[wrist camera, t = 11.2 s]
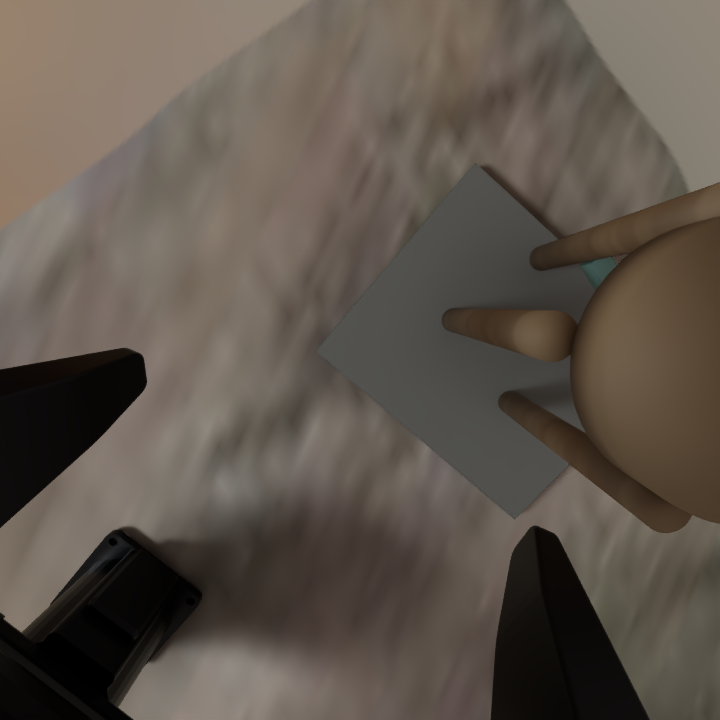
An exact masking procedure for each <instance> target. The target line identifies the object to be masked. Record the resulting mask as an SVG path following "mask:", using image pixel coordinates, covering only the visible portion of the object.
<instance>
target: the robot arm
mask: <svg viewBox="0 0 720 720" xmlns="http://www.w3.org/2000/svg"><path fill="white" fill-rule="evenodd" d="M146 385H147V377H146V370H145V363H144V358H143V356H142V355H141V354H140V353H138V352H136V351H133V350H131V349H128V348H119V349H114V350H108V351H102V352H97V353H91V354H85V355H80V356H74V357H68V358H63V359H57V360H51V361H46V362H40V363H34V364H29V365H23V366H17V367H12V368H6V369H0V528H1V527H2V526H3V525H4V524H5V523H6V522H7V521H9V520H10V519H11V518H12V517H13V516H14V515H15V514H16V513H17V512H19V511H20V510H21V509H22V508H23V507H24V506H25V505H26V504H27V503H29V502H30V501H31V500H32V499H33V498H34V497H35V496H36V495H37V494H39V493H40V492H41V491H42V490H43V489H44V488H45V487H46V486H47V485H49V484H50V483H51V482H52V481H53V480H54V479H55V478H56V477H58V476H59V475H60V474H61V473H62V472H63V471H64V470H65V469H66V468H68V467H69V466H70V465H71V464H72V463H73V462H74V461H75V460H76V459H78V458H79V457H80V456H81V455H82V454H83V453H84V452H85V451H86V450H88V449H89V448H90V447H91V446H92V445H93V444H94V443H95V442H96V441H97V440H98V439H99V438H100V437H101V436H102V435H103V434H104V433H105V432H106V431H107V430H108V429H109V428H110V427H111V426H112V424H113V423H114V422H115V421H116V420H117V419H118V418H119V417H120V416H121V415H122V414H123V413H124V412H125V410H126V409H127V408H128V407H129V406H130V405H131V404H132V403H133V402H134V401H135V400H136V399H137V397H138V396H139V395H140V394H141V393H142V392H143V391H144V389H145V387H146ZM113 538H115V539H116V540H117V542H116V541H115V540H114V539H113ZM189 597H192V598H193V599H194V600H191V599H190V598H189ZM201 599H202V594H201V592H200V591H199V590H198V589H196V588H195V587H194V586H192V585H191V584H190V583H189V582H187V581H186V580H185V579H183V578H182V577H181V576H179V575H178V574H177V573H176V572H174V571H173V570H172V569H170V568H169V567H168V566H167V565H165V564H164V563H163V562H161V561H160V560H159V559H157V558H156V557H155V556H154V555H152V554H151V553H150V552H148V551H147V550H146V549H144V548H143V547H142V546H141V545H139V544H138V543H137V542H135V541H134V540H133V539H132V538H130V537H129V536H128V535H126V534H125V533H124V532H122V531H120V530H113V531H112V532H111V533H109V534H108V535H107V536H106V537H105V538H104V539H103V541H102V542H101V543H100V544H99V546H98V547H97V548H96V549H95V550H94V552H93V553H92V554H91V555H90V556H89V558H88V559H87V560H86V561H85V562H84V564H83V565H82V566H81V567H80V569H79V570H78V571H77V572H76V573H75V575H74V576H73V577H72V578H71V579H70V581H69V582H68V583H67V584H66V586H65V587H64V588H63V589H62V590H61V592H60V593H59V594H58V595H57V596H56V598H55V599H54V600H53V601H52V603H51V604H50V606H49V607H48V608H47V609H46V610H45V611H44V612H43V613H42V614H41V615H40V616H39V617H38V618H37V619H35V620H34V621H33V622H32V623H31V624H30V625H29V626H28V627H27V628H26V629H25V630H24V631H23V632H22V633H21V632H20V631H19V630H17V629H16V628H15V627H13V626H12V625H11V624H10V623H8V622H7V621H6V620H4V618H5V616H4V615H3V614H2V613H0V720H133V719H132V718H131V717H130V716H128V715H127V714H126V713H124V712H123V711H122V710H121V709H119V708H118V707H119V705H120V704H121V702H122V701H123V699H124V697H125V696H126V694H127V693H128V691H129V689H130V688H131V686H132V685H133V683H134V681H135V680H136V678H137V677H138V675H139V673H140V672H141V670H142V669H143V667H144V666H145V665H146V664H147V663H148V661H149V660H150V659H151V658H152V657H153V656H154V655H155V654H156V652H157V651H158V650H159V649H160V648H161V647H162V646H163V645H164V643H165V642H166V641H167V640H168V639H169V638H170V637H171V636H172V634H173V633H174V632H175V631H176V630H177V629H178V628H179V627H180V626H181V624H182V623H183V622H184V621H185V620H186V619H187V618H188V617H189V615H190V614H191V613H192V612H193V611H194V610H195V609H196V608H197V606H198V605H199V603H200V601H201ZM491 720H650V719H649V717H648V715H647V713H646V711H645V709H644V707H643V705H642V703H641V701H640V699H639V697H638V695H637V693H636V691H635V689H634V687H633V685H632V683H631V681H630V679H629V677H628V675H627V673H626V671H625V669H624V667H623V665H622V663H621V661H620V659H619V657H618V655H617V653H616V651H615V649H614V647H613V645H612V643H611V641H610V639H609V637H608V635H607V634H606V632H605V630H604V628H603V626H602V624H601V622H600V620H599V618H598V616H597V614H596V612H595V610H594V608H593V606H592V604H591V602H590V600H589V598H588V596H587V594H586V592H585V590H584V588H583V586H582V584H581V582H580V580H579V578H578V576H577V574H576V572H575V570H574V568H573V566H572V564H571V562H570V560H569V558H568V556H567V554H566V552H565V550H564V548H563V546H562V544H561V542H560V540H559V538H558V537H557V536H556V535H555V534H554V533H552V532H550V531H548V530H545V529H543V528H541V527H539V526H532V527H531V528H530V529H529V530H528V531H527V532H526V534H525V535H524V536H523V538H522V539H521V540H520V542H519V543H518V544H517V546H516V547H515V549H514V551H513V553H512V556H511V560H510V565H509V571H508V576H507V582H506V587H505V593H504V599H503V604H502V610H501V615H500V621H499V626H498V632H497V639H496V649H495V661H494V676H493V691H492V707H491Z"/></svg>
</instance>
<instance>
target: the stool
mask: <svg viewBox="0 0 720 720" xmlns="http://www.w3.org/2000/svg"><path fill="white" fill-rule="evenodd" d="M631 252H632V253H631ZM626 253H631V254H629V255H628V256H627V257H625V258H624V259H623V260H622V261H621V262H620V263H619V264H618V265H617V264H616V263H615V261H614V260H613V258H612V256H617V255H622V254H626ZM529 260H530V264H531V266H532V267H533V268H534V269H536V270H538V271H544V270H549V269H554V268H558V267H563V266H568V265H573V264H578V263H583V262H584V263H583V264H582V265H580V268H581V269H582V271H583V272H584V274H585V276H586V277H587V279H588V280H589V282H590V283H591V285H592V287H593V288H594V290H595V292H594V294H593V296H592V297H591V299H590V301H589V302H588V304H587V306H586V308H585V310H584V312H583V314H582V317H581V319H580V321H579V324H578V325H577V323H576V321H575V320H574V319H573V318H572V317H571V316H570V315H569V314H567V313H565V312H562V311H557V310H515V309H469V308H451V309H448V310H447V311H446V312H445V313H444V314H443V316H442V325H443V327H444V328H445V329H446V330H447V331H450V332H453V333H456V334H459V335H462V336H466V337H469V338H472V339H475V340H478V341H482V342H485V343H488V344H491V345H494V346H497V347H501V348H504V349H507V350H510V351H513V352H517V353H520V354H523V355H526V356H529V357H532V358H536V359H539V360H542V361H546V362H558V361H561V360H563V359H565V358H567V357H568V356H570V355H571V357H570V383H571V393H572V397H573V401H574V405H575V409H576V412H577V415H578V417H579V420H580V422H581V425H582V427H583V428H584V430H585V432H586V433H585V432H583V431H581V430H580V429H578V428H576V427H574V426H573V425H571V424H569V423H568V422H566V421H564V420H563V419H561V418H559V417H557V416H556V415H554V414H552V413H551V412H549V411H547V410H545V409H544V408H542V407H540V406H539V405H537V404H535V403H534V402H532V401H530V400H528V399H527V398H525V397H523V396H522V395H520V394H518V393H517V392H514V391H506V392H504V393H503V394H502V395H501V396H500V397H499V400H498V405H499V408H500V409H501V410H502V411H503V412H504V413H505V414H507V415H508V416H509V417H511V418H512V419H513V420H514V421H516V422H517V423H518V424H519V425H521V426H522V427H523V428H524V429H526V430H527V431H528V432H529V433H531V434H532V435H533V436H535V437H536V438H537V439H538V440H540V441H541V442H542V443H543V444H545V445H546V446H547V447H548V448H550V449H551V450H552V451H554V452H555V453H556V454H557V455H559V456H560V457H561V458H562V459H564V460H565V461H566V462H567V463H569V464H570V465H571V466H573V467H574V468H575V469H576V470H578V471H579V472H580V473H581V474H583V475H584V476H585V477H586V478H588V479H589V480H590V481H592V482H593V483H594V484H595V485H597V486H598V487H599V488H600V489H602V490H603V491H604V492H605V493H607V494H608V495H609V496H611V497H612V498H613V499H614V500H616V501H617V502H618V503H619V504H621V505H622V506H623V507H624V508H626V509H627V510H628V511H630V512H631V513H632V514H633V515H635V516H636V517H637V518H638V519H640V520H641V521H642V522H643V523H645V524H646V525H647V526H649V527H650V528H651V529H653V530H654V531H657V532H660V533H671V532H675V531H677V530H679V529H681V528H682V527H684V526H685V525H686V524H687V523H688V521H689V520H690V518H691V516H692V515H694V516H696V517H699V518H702V519H704V520H707V521H710V522H715V523H719V524H720V183H716V184H714V185H711V186H708V187H705V188H702V189H700V190H697V191H694V192H691V193H688V194H685V195H683V196H680V197H677V198H674V199H671V200H668V201H666V202H663V203H660V204H657V205H654V206H652V207H649V208H646V209H643V210H640V211H637V212H635V213H632V214H629V215H626V216H623V217H620V218H618V219H615V220H612V221H609V222H606V223H604V224H601V225H598V226H595V227H592V228H589V229H587V230H584V231H581V232H578V233H575V234H573V235H570V236H567V237H564V238H561V239H558V240H556V241H553V242H550V243H547V244H544V245H541V246H539V247H536V248H535V249H534V250H533V251H532V252H531V254H530V258H529Z"/></svg>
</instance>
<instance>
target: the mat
mask: <svg viewBox="0 0 720 720" xmlns="http://www.w3.org/2000/svg"><path fill="white" fill-rule="evenodd" d="M556 240H558V239H557V238H556V237H555V236H554V235H553V234H552V233H551V232H550V231H549V230H548V229H547V228H546V227H544V226H543V225H542V224H541V223H540V222H539V221H538V220H537V219H536V218H535V217H534V216H533V215H531V214H530V213H529V212H528V211H527V210H526V209H525V208H524V207H523V206H522V205H521V204H520V203H518V202H517V201H516V200H515V199H514V198H513V197H512V196H511V195H510V194H509V193H508V192H507V191H505V190H504V189H503V188H502V187H501V186H500V185H499V184H498V183H497V182H496V181H495V180H494V179H492V178H491V177H490V176H489V175H488V174H487V173H486V172H485V171H484V170H483V169H482V168H481V167H479V166H478V165H477V164H476V163H475V164H474V165H473V166H472V167H471V168H470V170H469V171H468V172H467V173H466V174H465V176H464V177H463V178H462V179H461V180H460V181H459V183H458V184H457V185H456V186H455V187H454V189H453V190H452V191H451V192H450V193H449V194H448V196H447V197H446V198H445V199H444V200H443V202H442V203H441V204H440V205H439V206H438V207H437V209H436V210H435V211H434V212H433V213H432V215H431V216H430V217H429V218H428V219H427V220H426V222H425V223H424V224H423V225H422V226H421V228H420V229H419V230H418V231H417V232H416V233H415V235H414V236H413V237H412V238H411V239H410V240H409V242H408V243H407V244H406V245H405V246H404V248H403V249H402V250H401V251H400V252H399V253H398V255H397V256H396V257H395V258H394V259H393V261H392V262H391V263H390V264H389V265H388V266H387V268H386V269H385V270H384V271H383V272H382V274H381V275H380V276H379V277H378V278H377V279H376V281H375V282H374V283H373V284H372V285H371V287H370V288H369V289H368V290H367V291H366V292H365V294H364V295H363V296H362V297H361V298H360V300H359V301H358V302H357V303H356V304H355V305H354V307H353V308H352V309H351V310H350V311H349V312H348V314H347V315H346V316H345V317H344V318H343V320H342V321H341V322H340V323H339V324H338V325H337V327H336V328H335V329H334V330H333V331H332V333H331V334H330V335H329V336H328V337H327V338H326V340H325V341H324V342H323V343H322V344H321V346H320V347H319V348H318V349H317V350H316V352H318V353H319V354H320V355H321V356H322V357H323V358H325V359H326V360H327V361H328V362H329V363H331V364H332V365H333V366H334V367H335V368H336V369H338V370H339V371H340V372H341V373H342V374H344V375H345V376H346V377H347V378H348V379H349V380H351V381H352V382H353V383H354V384H355V385H357V386H358V387H359V388H360V389H361V390H362V391H364V392H365V393H366V394H367V395H368V396H369V397H371V398H372V399H373V400H374V401H375V402H377V403H378V404H379V405H380V406H381V407H382V408H384V409H385V410H386V411H387V412H388V413H390V414H391V415H392V416H393V417H394V418H395V419H397V420H398V421H399V422H400V423H401V424H403V425H404V426H405V427H406V428H407V429H408V430H410V431H411V432H412V433H413V434H414V435H416V436H417V437H418V438H419V439H420V440H421V441H423V442H424V443H425V444H426V445H427V446H429V447H430V448H431V449H432V450H433V451H434V452H436V453H437V454H438V455H439V456H440V457H442V458H443V459H444V460H445V461H446V462H447V463H449V464H450V465H451V466H452V467H453V468H455V469H456V470H457V471H458V472H459V473H460V474H462V475H463V476H464V477H465V478H466V479H468V480H469V481H470V482H471V483H472V484H473V485H475V486H476V487H477V488H478V489H479V490H480V491H482V492H483V493H484V494H485V495H486V496H488V497H489V498H490V499H491V500H492V501H493V502H495V503H496V504H497V505H498V506H499V507H501V508H502V509H503V510H504V511H505V512H506V513H508V514H509V515H510V516H511V517H512V518H514V519H516V518H517V517H518V516H519V515H520V514H521V513H522V512H523V511H524V510H525V509H526V508H527V507H528V506H529V505H530V504H531V503H532V502H533V501H534V500H535V499H536V498H537V497H538V496H539V495H540V494H541V493H542V492H543V491H544V490H545V489H546V488H547V487H548V486H549V484H550V483H551V482H552V481H553V480H554V479H555V478H556V477H557V476H558V475H559V474H560V473H561V472H562V471H563V470H564V469H565V468H566V467H567V466H568V465H569V463H567V462H566V461H565V460H564V459H562V458H561V457H560V456H559V455H557V454H556V453H555V452H554V451H552V450H551V449H550V448H548V447H547V446H546V445H545V444H543V443H542V442H541V441H540V440H538V439H537V438H536V437H535V436H533V435H532V434H531V433H529V432H528V431H527V430H526V429H524V428H523V427H522V426H521V425H519V424H518V423H517V422H516V421H514V420H513V419H512V418H511V417H509V416H508V415H507V414H505V413H504V412H503V411H502V410H501V409H500V408H499V405H498V400H499V397H500V396H501V395H502V394H503V393H504V392H506V391H514V392H517V393H518V394H520V395H522V396H523V397H525V398H527V399H528V400H530V401H532V402H534V403H535V404H537V405H539V406H540V407H542V408H544V409H545V410H547V411H549V412H551V413H552V414H554V415H556V416H557V417H559V418H561V419H563V420H564V421H566V422H568V423H569V424H571V425H573V426H574V427H576V428H578V429H580V430H581V431H583V432H585V430H584V428H583V427H582V425H581V422H580V420H579V417H578V415H577V412H576V409H575V405H574V401H573V397H572V393H571V383H570V357H571V355H570V356H568V357H567V358H565V359H563V360H561V361H558V362H546V361H542V360H539V359H536V358H532V357H529V356H526V355H523V354H520V353H517V352H513V351H510V350H507V349H504V348H501V347H497V346H494V345H491V344H488V343H485V342H482V341H478V340H475V339H472V338H469V337H466V336H462V335H459V334H456V333H453V332H450V331H447V330H446V329H445V328H444V327H443V325H442V316H443V314H444V313H445V312H446V311H447V310H448V309H451V308H469V309H515V310H557V311H562V312H565V313H567V314H569V315H570V316H571V317H572V318H573V319H574V320H575V321H576V323H577V325H578V324H579V321H580V319H581V317H582V314H583V312H584V310H585V308H586V306H587V304H588V302H589V301H590V299H591V297H592V296H593V294H594V292H595V290H594V288H593V287H592V285H591V283H590V282H589V280H588V279H587V277H586V276H585V274H584V272H583V271H582V269H581V268H580V265H582V264H583V263H578V264H573V265H568V266H563V267H558V268H554V269H549V270H544V271H538V270H536V269H534V268H533V267H532V266H531V264H530V260H529V258H530V254H531V252H532V251H533V250H534V249H535V248H536V247H539V246H541V245H544V244H547V243H550V242H553V241H556ZM585 433H586V432H585Z"/></svg>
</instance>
